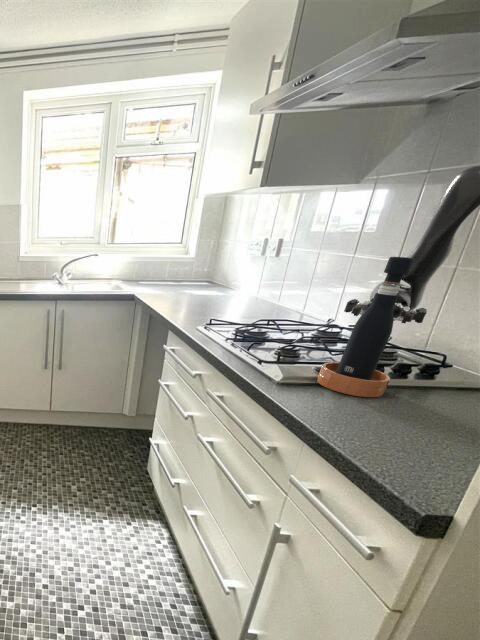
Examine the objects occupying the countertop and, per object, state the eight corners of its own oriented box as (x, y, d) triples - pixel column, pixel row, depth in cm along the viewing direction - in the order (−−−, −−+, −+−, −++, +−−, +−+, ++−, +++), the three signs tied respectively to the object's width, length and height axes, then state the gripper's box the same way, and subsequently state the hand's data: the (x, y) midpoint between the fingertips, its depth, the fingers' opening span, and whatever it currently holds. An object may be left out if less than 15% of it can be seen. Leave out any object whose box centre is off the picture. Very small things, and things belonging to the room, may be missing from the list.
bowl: (339, 376, 108) (345, 360, 106) (395, 395, 97) (403, 378, 95) (304, 381, 104) (310, 364, 102) (358, 402, 94) (366, 383, 92)
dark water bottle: (362, 384, 101) (417, 257, 89) (369, 394, 96) (428, 260, 84) (329, 379, 105) (378, 255, 92) (334, 387, 99) (386, 258, 87)
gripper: (358, 286, 111) (347, 294, 101) (434, 295, 102) (430, 304, 92) (348, 314, 114) (336, 324, 104) (420, 324, 105) (415, 337, 95)
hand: (380, 315), depth 98 cm, fingers open, 8 cm apart
